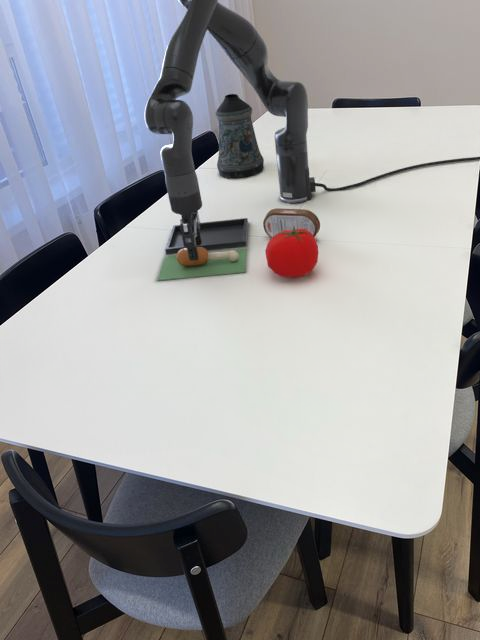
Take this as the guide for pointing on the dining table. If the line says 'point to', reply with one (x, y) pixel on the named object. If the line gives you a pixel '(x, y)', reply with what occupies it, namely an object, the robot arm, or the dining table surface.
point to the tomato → (292, 253)
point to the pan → (213, 235)
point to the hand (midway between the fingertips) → (196, 252)
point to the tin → (290, 221)
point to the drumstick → (204, 256)
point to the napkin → (202, 267)
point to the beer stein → (237, 140)
